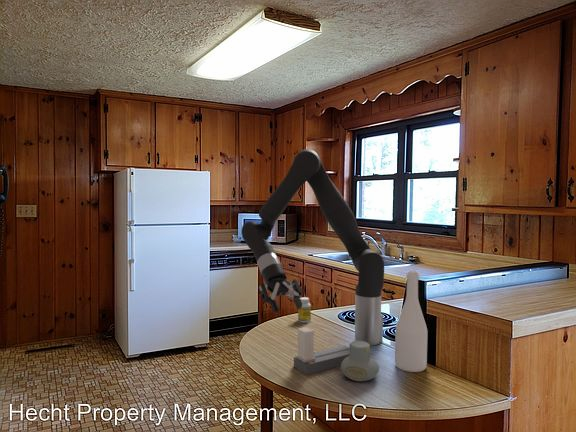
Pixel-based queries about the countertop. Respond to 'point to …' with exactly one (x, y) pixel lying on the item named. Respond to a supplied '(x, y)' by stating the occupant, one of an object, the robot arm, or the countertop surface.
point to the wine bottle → (411, 331)
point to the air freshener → (359, 363)
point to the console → (323, 360)
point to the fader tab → (305, 345)
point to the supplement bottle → (304, 311)
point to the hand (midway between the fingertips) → (289, 309)
